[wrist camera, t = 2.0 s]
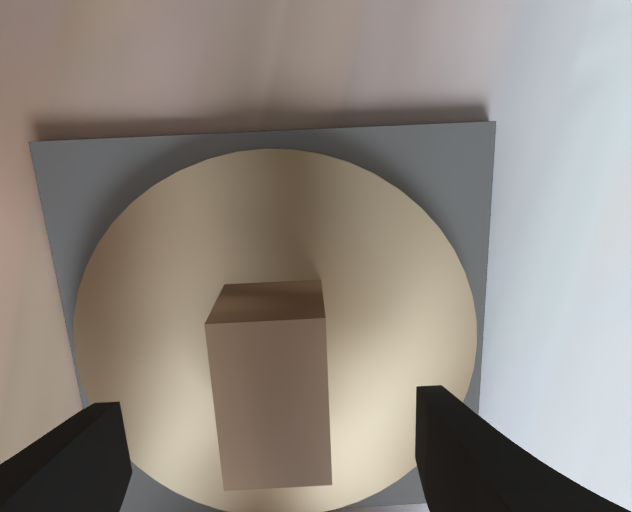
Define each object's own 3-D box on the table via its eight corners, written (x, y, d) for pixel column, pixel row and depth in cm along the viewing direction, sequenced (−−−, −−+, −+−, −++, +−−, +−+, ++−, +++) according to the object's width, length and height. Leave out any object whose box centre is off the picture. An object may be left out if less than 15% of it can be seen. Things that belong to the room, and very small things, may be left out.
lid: (117, 509, 17) (68, 611, 14) (49, 158, 14) (-42, 168, 10) (460, 490, 18) (501, 585, 14) (478, 139, 14) (540, 143, 10)
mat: (111, 510, 18) (106, 521, 17) (37, 141, 14) (28, 141, 14) (468, 490, 18) (472, 500, 18) (489, 121, 14) (496, 121, 14)
